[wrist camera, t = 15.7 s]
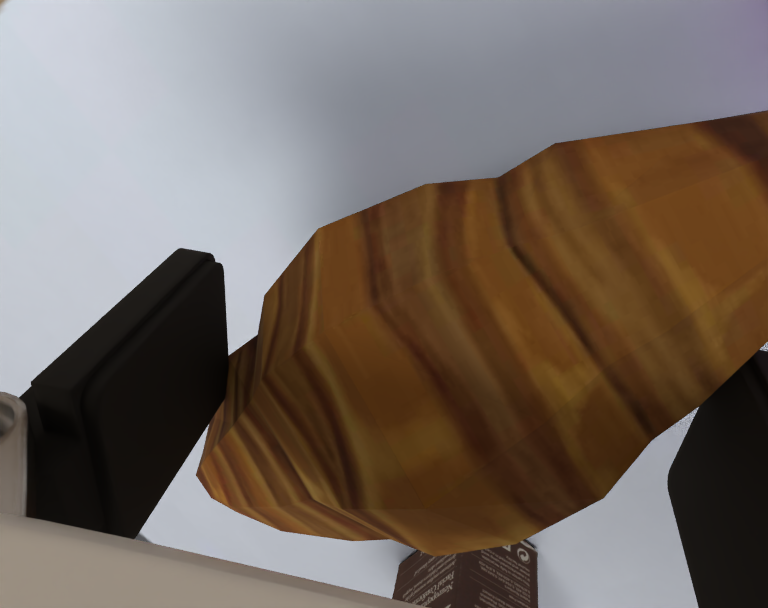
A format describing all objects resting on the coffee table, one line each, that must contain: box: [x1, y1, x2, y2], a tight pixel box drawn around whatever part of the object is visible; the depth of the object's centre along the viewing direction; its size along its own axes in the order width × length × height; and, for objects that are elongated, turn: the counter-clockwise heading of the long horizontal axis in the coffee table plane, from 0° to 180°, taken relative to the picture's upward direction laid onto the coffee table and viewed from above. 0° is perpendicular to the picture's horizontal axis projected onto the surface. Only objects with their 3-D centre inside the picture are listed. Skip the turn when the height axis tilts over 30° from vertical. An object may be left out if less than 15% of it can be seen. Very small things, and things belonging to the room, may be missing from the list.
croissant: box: [196, 111, 768, 557], centre depth 10 cm, size 14×7×5 cm, turn 129°
